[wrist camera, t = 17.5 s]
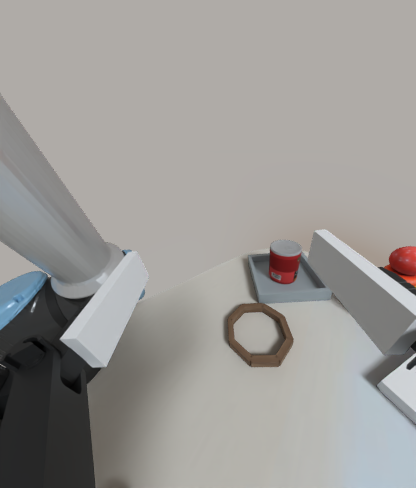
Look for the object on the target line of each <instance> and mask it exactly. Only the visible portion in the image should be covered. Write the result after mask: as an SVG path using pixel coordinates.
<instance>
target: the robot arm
mask: <svg viewBox="0 0 416 488" xmlns="http://www.w3.org/2000/svg"><path fill="white" fill-rule="evenodd" d="M0 241H1V242H3V243H4V244H5V245H7V246H8V247H10V248H11V249H13V250H14V251H16V252H17V253H19V254H20V255H21V256H23V257H25V258H26V259H27V260H29V261H30V262H32V263H33V264H35V265H36V266H38V267H39V268H41V269H42V270H44V271H45V272H47V273H48V274H50V275H51V277H50V278H49V277H48V276H47V274H46V273H43V272H41V271H34V272H30V273H26V274H24V275H21V276H19V277H17V278H15V279H12V280H10V281H9V282H7V283H5V284H3V285H1V286H0V364H2V365H3V366H5V367H7V368H5V367H3V366H1V365H0V488H95V478H94V466H93V454H92V443H91V431H90V419H89V408H88V396H87V383H88V382H89V381H90V380H91V379H92V378H93V377H94V376H95V375H96V374H97V373H98V371H99V370H100V369H101V367H107V364H108V362H109V360H110V358H111V356H112V354H113V352H114V350H115V348H116V346H117V344H118V341H119V339H120V337H121V335H122V333H123V331H124V329H125V327H126V325H127V323H128V321H129V318H130V316H131V314H132V312H133V310H134V308H135V306H136V304H137V302H138V300H140V299H142V297H143V296H144V294H145V290H144V287H145V285H146V283H147V281H148V279H149V276H148V273H147V271H146V269H145V267H144V265H143V262H142V260H141V258H140V256H139V254H138V251H134V252H132V251H131V250H123V251H121V249H120V248H119V247H117V246H116V245H114V244H112V243H108V242H104V240H103V239H102V237H101V236H100V234H99V233H98V232H97V230H96V229H95V227H94V226H93V225H92V223H91V222H90V220H89V219H88V217H87V216H86V215H85V213H84V212H83V210H82V209H81V208H80V206H79V205H78V203H77V202H76V200H75V199H74V198H73V196H72V195H71V193H70V192H69V191H68V189H67V188H66V186H65V185H64V184H63V182H62V181H61V179H60V178H59V176H58V175H57V173H56V172H55V171H54V169H53V168H52V167H51V165H50V164H49V162H48V161H47V159H46V158H45V156H44V155H43V154H42V152H41V151H40V149H39V148H38V147H37V145H36V144H35V142H34V141H33V139H32V138H31V137H30V135H29V134H28V132H27V131H26V130H25V128H24V127H23V125H22V124H21V122H20V121H19V120H18V118H17V117H16V115H15V114H14V113H13V111H12V110H11V108H10V107H9V106H8V104H7V103H6V101H5V100H4V98H3V97H2V96H1V94H0ZM307 262H308V263H309V264H310V265H311V267H312V268H313V269H314V270H315V272H316V273H317V274H318V275H319V276H320V278H321V279H322V280H323V281H324V283H325V284H326V285H327V286H328V287H329V289H330V290H331V291H332V292H333V294H334V295H335V296H336V297H337V298H338V300H339V301H340V302H341V303H342V304H343V306H344V307H345V308H346V309H347V311H348V312H349V313H350V314H351V315H352V317H353V318H354V319H355V320H356V322H357V323H358V324H359V325H360V326H361V328H362V329H363V330H364V331H365V333H366V334H367V335H368V336H369V337H370V339H371V340H372V341H373V342H374V344H375V345H376V346H377V347H378V348H379V350H380V351H381V352H382V353H383V355H401V354H404V353H405V352H406V351H407V350H408V349H409V348H410V347H411V348H412V349H413V350H414V351H415V352H416V287H414V286H413V285H412V284H410V283H407V281H406V280H404V279H403V278H402V277H400V276H399V275H397V274H396V273H394V272H392V271H389V270H387V269H385V268H383V267H376V266H375V265H373V264H372V263H371V262H369V261H368V260H366V259H365V258H364V257H362V256H361V255H360V254H358V253H357V252H355V251H354V250H353V249H352V248H350V247H349V246H348V245H346V244H345V243H343V242H342V241H341V240H339V239H338V238H337V237H335V236H334V235H333V234H331V233H330V232H329V231H327V230H326V229H325V230H316V231H314V234H313V238H312V243H311V247H310V252H309V256H308V261H307ZM414 366H416V357H415V358H414V359H413V360H411V361H410V362H409V363H408V364H407V367H406V369H408V370H411V369H412V368H413V367H414Z"/></svg>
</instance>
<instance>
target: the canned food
mask: <svg viewBox="0 0 416 488" xmlns="http://www.w3.org/2000/svg"><path fill="white" fill-rule="evenodd" d="M301 252H302V247H301V245H300V244H298V243H296V242H294V241H290V240H278V241H275V242H273V243H272V244H271V246H270V257H269V276H270V278H271V279H272V280H273V281H275V282H277V283H280V284H291V283H293V282H294V281H295V280H296V278H297V274H298V269H299V263H300V258H301Z"/></svg>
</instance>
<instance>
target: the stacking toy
mask: <svg viewBox="0 0 416 488" xmlns="http://www.w3.org/2000/svg"><path fill="white" fill-rule="evenodd" d="M389 263H390V264H389V265H387V266H385V267H384V268H385V269H387V270H389V271H392V272H394V273H396V274H397V275H399V276H400V277H402V278H403V279H404V280H406V281H407V283H410V284H412V285H413V286H414V287H416V247H411V246H408V247H402V248H399V249H396V250H395V251H393V252H392V253H391V255H390V257H389Z"/></svg>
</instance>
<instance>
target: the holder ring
mask: <svg viewBox="0 0 416 488" xmlns="http://www.w3.org/2000/svg"><path fill="white" fill-rule="evenodd" d="M248 312H263V313H265V314H266V315H268V316H269V317H271V318H272V319H274V320H275V321H277V322H278V323H279V324H280V327H281V330H282V333H283V336H284V339H285V341H284V343H283V344H282V346H281V348H280V349H279V351H278V352H277V354H276V355H251V354H250V353H249V352H248V351H247V350H245V349H244V348H243V347H242V346H241V345H240V344H239V343H238V342H237V341H236V340H235V339H234V329H233V324H234V323H235V322H236V321H237V320H238V319H239V318H240V317H241V316H242V315H243V314H244V313H248ZM228 335H229V345H230V347H231V348H232V349H233V350H234V351H235V352H236V353H237V354H238V355H239V356H240V357H241V358H242V359H243V360H244V361H245V362H246V363H247V364H248V365H249V366H250V365H251V367H279V366H280V365H281V364H282V362H283V360H284V359H285V357H286V355H287V354H288V352H289V350H290V349H291V347H292V345H293V337H292V334H291V332H290V329H289V327H288V324H287V321H286V319H285V316H284V315H282V314H281V313H279V312H277V311H276V310H274V309H272V308H271V307H269V306H268V305H266V304H263V303H251V304H242V305H240V306H239V307H238V308H237V309H236V310H235V311H234V312H233V313H232V314H231V315H230V316H229V317H228Z"/></svg>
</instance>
